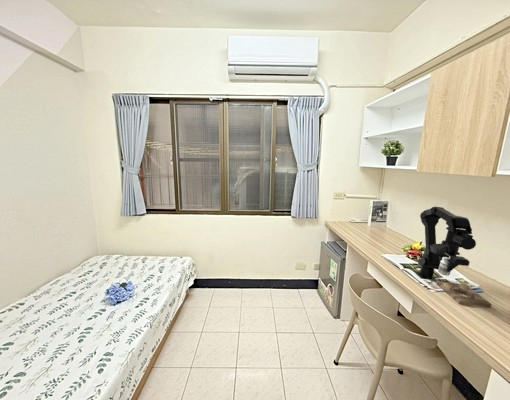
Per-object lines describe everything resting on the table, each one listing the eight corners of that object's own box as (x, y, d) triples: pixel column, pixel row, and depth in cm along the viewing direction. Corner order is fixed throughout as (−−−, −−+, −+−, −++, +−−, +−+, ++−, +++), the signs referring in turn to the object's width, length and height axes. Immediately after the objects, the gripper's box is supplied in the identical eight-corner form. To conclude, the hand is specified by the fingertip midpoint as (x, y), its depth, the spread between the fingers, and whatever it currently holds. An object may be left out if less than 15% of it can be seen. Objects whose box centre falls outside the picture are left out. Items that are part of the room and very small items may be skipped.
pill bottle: (444, 271, 116) (448, 256, 115) (451, 276, 112) (456, 261, 110) (435, 270, 116) (439, 256, 115) (442, 275, 112) (446, 260, 110)
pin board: (436, 284, 122) (437, 280, 121) (463, 287, 120) (465, 284, 120) (458, 303, 106) (459, 299, 106) (490, 307, 105) (491, 303, 104)
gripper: (424, 232, 120) (417, 258, 124) (447, 246, 102) (439, 276, 106) (447, 234, 119) (439, 261, 122) (474, 249, 101) (465, 280, 104)
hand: (444, 269), depth 114 cm, fingers closed on pill bottle, 5 cm apart
